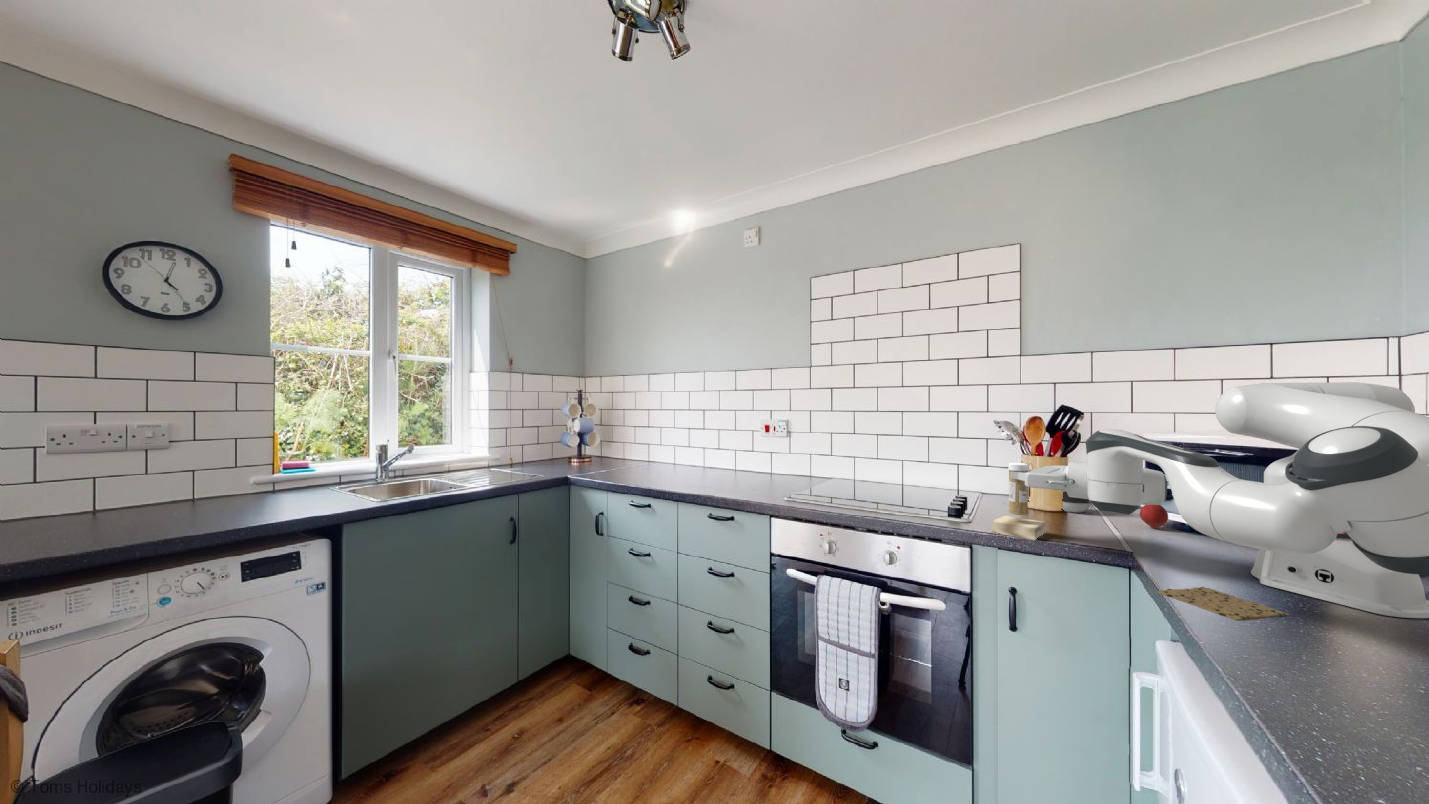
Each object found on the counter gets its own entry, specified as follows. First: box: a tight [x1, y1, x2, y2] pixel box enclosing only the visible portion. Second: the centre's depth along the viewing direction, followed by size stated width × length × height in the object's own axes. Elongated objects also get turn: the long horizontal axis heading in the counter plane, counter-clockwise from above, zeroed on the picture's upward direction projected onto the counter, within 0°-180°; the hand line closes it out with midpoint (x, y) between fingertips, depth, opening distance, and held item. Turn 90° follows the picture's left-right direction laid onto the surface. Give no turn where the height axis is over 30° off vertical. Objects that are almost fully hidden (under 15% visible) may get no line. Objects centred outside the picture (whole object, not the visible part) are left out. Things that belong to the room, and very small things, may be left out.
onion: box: [1139, 505, 1169, 530], centre depth 136 cm, size 6×6×8 cm
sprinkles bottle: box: [1007, 462, 1029, 516], centre depth 130 cm, size 5×5×14 cm
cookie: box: [1157, 586, 1291, 621], centre depth 85 cm, size 12×12×1 cm
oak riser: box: [991, 514, 1047, 541], centre depth 130 cm, size 10×10×3 cm
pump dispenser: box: [1062, 464, 1092, 514], centre depth 157 cm, size 10×10×15 cm
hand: (1014, 473), depth 130 cm, fingers closed on sprinkles bottle, 4 cm apart
